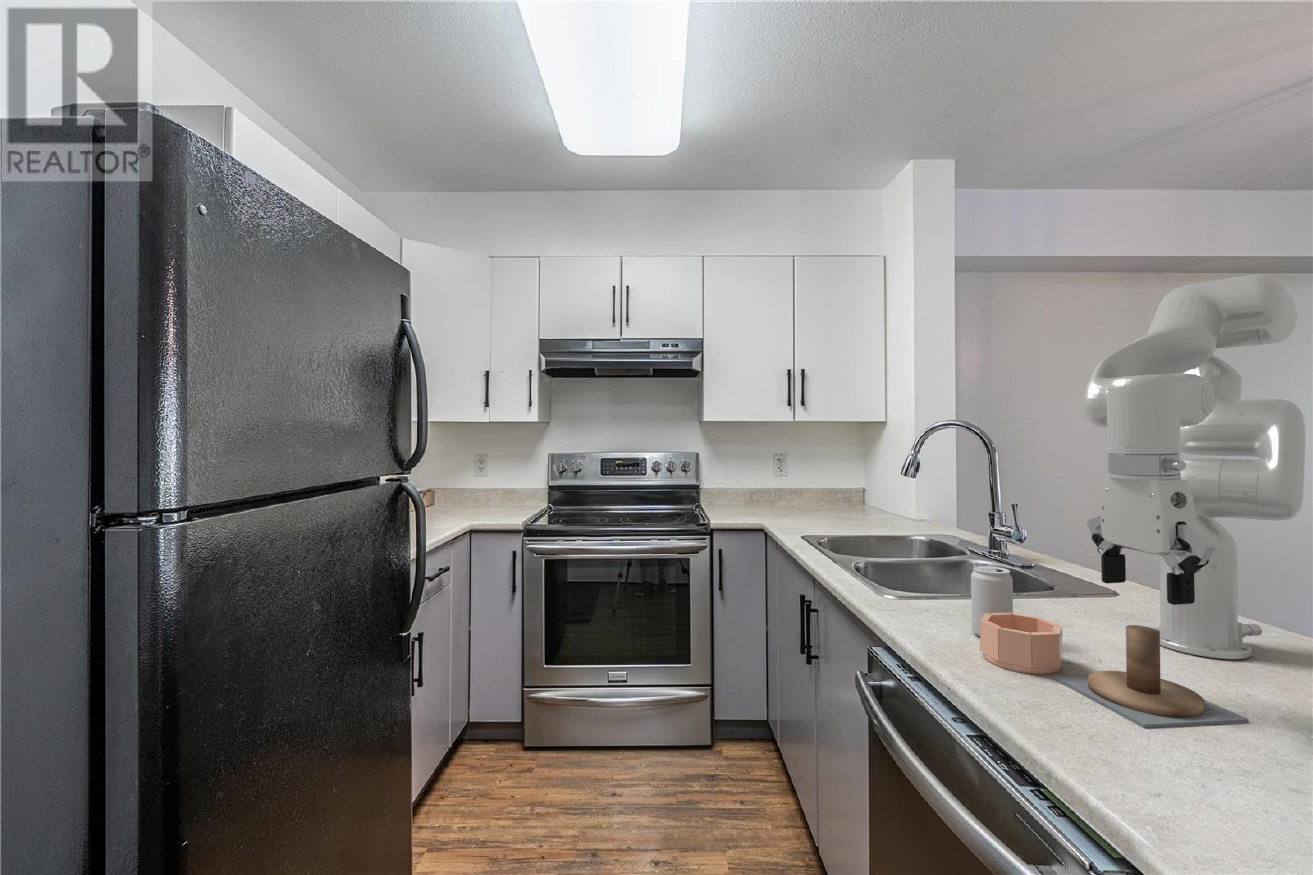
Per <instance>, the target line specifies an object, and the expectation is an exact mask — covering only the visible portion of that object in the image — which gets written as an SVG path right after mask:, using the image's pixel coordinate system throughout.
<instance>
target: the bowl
mask: <svg viewBox="0 0 1313 875" xmlns="http://www.w3.org/2000/svg"><path fill="white" fill-rule="evenodd" d="M979 640H980V641H979V645H980V646H979V647H980V648H979V651H980V652H981V653H982V656H983V659H984V660H986V662H989V663H990V664H992V665H994V666H996V667H1000V668H1003V669H1005V670H1009V671H1012V672H1017V673H1020V674H1021V673H1022V674H1029V675H1040V676H1041V675H1042V676H1043V675H1054V674H1056V673H1058V672H1060V671H1061V668H1062V661H1063V626H1062V625H1059V624H1058V623H1055V622H1052V621H1050V620H1048V619H1046V618H1043V617H1041V616H1034V615H1027V614H1022V613H1021V614H1020V613H1015V612H1013V613H985V614H984V616H983V617H982V618H981V619H980V637H979Z"/></svg>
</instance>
